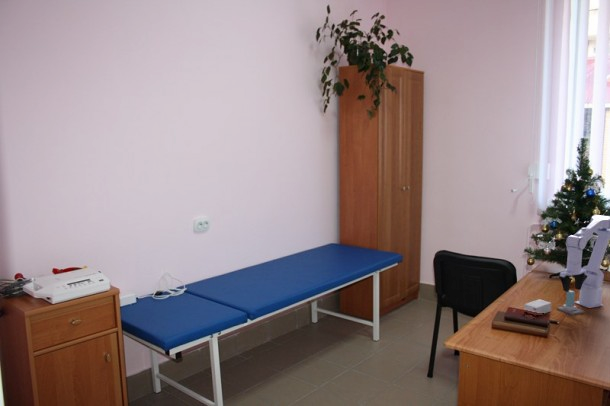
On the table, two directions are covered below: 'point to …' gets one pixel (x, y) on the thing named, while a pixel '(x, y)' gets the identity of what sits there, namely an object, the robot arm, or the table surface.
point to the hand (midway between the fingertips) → (572, 290)
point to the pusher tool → (570, 301)
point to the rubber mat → (571, 311)
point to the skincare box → (538, 306)
